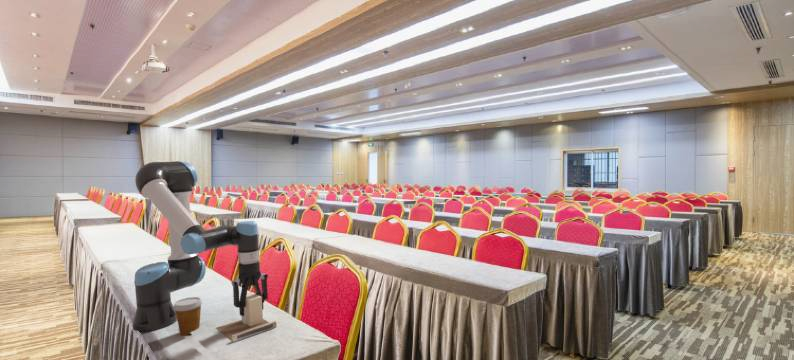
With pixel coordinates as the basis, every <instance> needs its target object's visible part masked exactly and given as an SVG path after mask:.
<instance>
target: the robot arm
mask: <svg viewBox="0 0 794 360" xmlns="http://www.w3.org/2000/svg"><path fill="white" fill-rule="evenodd" d="M197 173H198V172H197V170H196V169H195V166H193V165H192V164H191V163H189V162H187V161H181V160H180V161H179V160H177V161H153V162H147V163H145V164H144V165H142V166H141V167H140V168H139V169H138V171H137V172H136V175H135V178H134V181H135V182H134V183H135V187H136V189H137V191H138V192H139V193H140V194H141V196H142V197H143V198H144V199H148V200H149V201H150V202H151V203H152V204H153V205H154V207H155V208H156V209H157V210H158V211H159V213H161V215H162V216H163V217H164V218H165V220H167V222H168V233H169V235H168V236H169V244H170V255H169V256H168V257H167V262H166V261H158V262H155V263H150V264H146V265H143V266H142V267H139V268H138V269H137V270H136V271H135V272H134V290H135V303H136V310H135V313H134V316H133V319H132V330H133V331H136V332H148V331H149V332H151V331H155V330H159V329H162V328H166V327H168V326H170V325H173V324H174V323H175V322H176V321H177V316H176V312H175V310H174V308H173V307H174V305H173V303H172V299H171V293H173V292H176V291H179V290H183V289H185V288H189V287H192V286H195V285H197V284H199V283H200V282H201V281H202V280H203V279H204V278H205V275H206V271H207V270H206V269H207V267H206V263H205V262H204V259H203V258H202V257H200V256H199V254H201V253H205V252H208V251H211V250H216V249H220V248H224V247H227V246H234V247H235V246H236V247H237V258H238V259H237V260H238V261H237V262H238V274H239V275H238V278H237V279H235V280H231V285H232V290H233V291H232V293H233V294H232V295H233V296H232V297H233V306H234V307H236V308H239V310H238V311H239V316H240V317H241V316H242V317H241V320H242V322H243V323H244V324H247V309H246V307H245V306H244V305H245V300H246V295H247V294H248V290H249V287H251V286H253V290H254V291H255V292H254V293H255V294H257V295H259V296H261V297H262V311H263V310H264V303H265V301H266V300H268V298H269V297H268V296H269V294H268V281H267V280H268V273H267V274H266V273H265V272H264V273H261V263H260V250H259V248H260V247H259V230H258V229H259V228H258V223H257V222H256V221H254V220H244V221H239V222H237V223H236V225H228V224H226V225H225V224H224V225H218V226H216V227H215V228H210V229H205V228H204V227H203V226H202V225H201V224H200V223H199V221H197V219H196V218H195V217H194V216H193V215H192V213H191V206H190V205H191V204H190V195H191V194H192V193H193V188H194V187H196V185H197V183H198V174H197ZM259 280H260V283H261V284H259ZM240 283H241V291H240V287H239V285H240ZM260 285H261V288H260ZM240 295H241V296H240Z"/></svg>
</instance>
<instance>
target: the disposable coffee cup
mask: <svg viewBox="0 0 794 360" xmlns="http://www.w3.org/2000/svg"><path fill="white" fill-rule="evenodd" d="M202 304H203V301H202V299H201V298H200V297H197V296H192V297H186V298H182V299H179V300H177V301H175V302H174V305H173V308H174V310H175V312H176V316H177V320H176V321H177V324H178V331H179V334H180V336H181V337H189V336H192V333H191V332H195V331H196V330H198V329H199V328H200V326H201V324H200V323H201V321H200V320H201V311H202V310H201V309H202Z"/></svg>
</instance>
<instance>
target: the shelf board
mask: <svg viewBox="0 0 794 360" xmlns="http://www.w3.org/2000/svg"><path fill="white" fill-rule="evenodd" d="M277 327H278V326H277V321H275V320H274V321H271V322H269V321H267V320H265V319H264V318H263V323H260V324H257V325H253V326H249V325H247V324H244V323H243V322H242V319H240V320H236V321H233V322H230V323H227V324H223V325H221V326H217V327H215V329H216V330H218V331H219V333H221V334H222V335H224V336H225V337H226V338H227V339H228V340H230V341H231V342H232V343H234V342H235V343H236V342H238V341H241V340H243V339H246V338H249V337H253V336H255V335H258V334H260V333H263V332H267V331H270V330H273V329H275V328H277Z"/></svg>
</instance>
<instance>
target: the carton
mask: <svg viewBox="0 0 794 360" xmlns="http://www.w3.org/2000/svg"><path fill="white" fill-rule="evenodd" d="M240 296H241V294H239V297H240ZM244 306H245V307H246V309H247V325H249V326H253V325H257V324H260V323H263V319H264V318H263V315H264V314H263V310H262V297H261V296H259V295H257V294H256V292H252V291H251V292H247V295H246V300H245V305H244ZM240 317H241V318H242V316H241V315H240Z"/></svg>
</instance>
